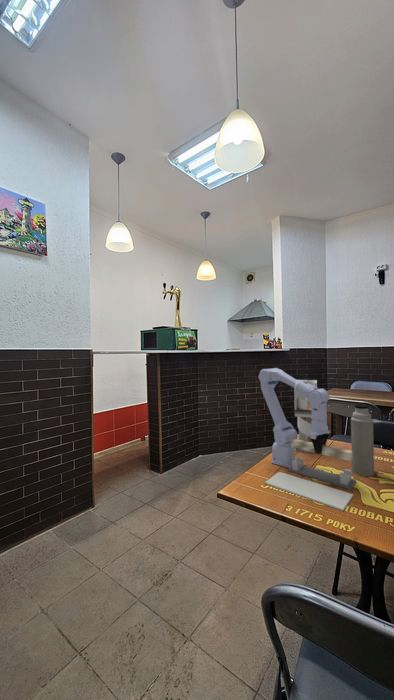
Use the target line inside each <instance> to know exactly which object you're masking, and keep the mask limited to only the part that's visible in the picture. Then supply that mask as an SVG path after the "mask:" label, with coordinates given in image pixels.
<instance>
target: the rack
mask: <svg viewBox="0 0 394 700" xmlns="http://www.w3.org/2000/svg"><path fill="white" fill-rule="evenodd" d="M295 457H296V458H295V460H292V467H291V468H288V469H287V472H289V473H293V474H297V475H298V476H303V477H306V478H309V479H313V480H316V481H319V482H323V483H327V484H329V485H333V486H335V487H339V488H342V489H346V490H351V489H352V488H353V486H355V484H356V483H357V480H356V479H355V478H352V469H348V468H343V472H340V473H339V474H337V473H336V474H335V473H333V472H329V471H325V470H321V469H318V468H314V467H310V466H306V465H304V458H303V457H300V456H295Z"/></svg>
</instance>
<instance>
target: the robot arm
mask: <svg viewBox="0 0 394 700" xmlns="http://www.w3.org/2000/svg"><path fill="white" fill-rule="evenodd" d="M257 377H258V379H259V382H260V389H261V392H262V395H263V398H264V400H265V402H266V404H267V405H266V406H267V407H268V410H269V412H270V415H271V417H272V420H273V423H274V426H273V428H272V432H273V435H274V437H273V438H274V442H273V444H272V445H271V446H272V448H271V452H272V453H271V455H272V456H271V457H272V458H271V460H272V461H271V464H274V465H278V466H281V467H285V468H288V469H289V468H291V467H292V460H295V461H296V458H295V457H296V456H295V454H296V453H295V452H296V448H292V447H291V440H293V439H298V438H299V434H298V431H297V430H296V429H295V428H294V426H293V425H292V423H290V422H289V421H288V420H287V418H286V416H285V414H284V411H283V409H282V408H283V407H281V404H280V401H279V399H278V396H277V394H276V392H275V389H274V388H275V387H276V385H277V384H278V383H279V382H282V383H284V384H286V385H288V386H291V388H293V389H294V388H295V391H296V392H297V393H299V394H301V395H303V396H304V397H306V398H308V399H309V401H310V403H311V412H312V429H311V433H310V439H311V441H312V443H313V446H314V450H315V453H317V454H316V455H322V454H321V453H322V446H323V445H327V442H328V439H329V437H330V433H331V430H329V426H328V412H327V411H328V408H327V405H328V404H327V403H328V402H329V399H330V395H329V392H328V391H327V390H326V389H325V388H318V386H317V387H316V386H313V385H311V384H309V383H307V382H308V381H306V380H307V379H300V380H301V381H298V380H299V379H296V378H294V377H293V376H291V375H290V374H288V373H286V372H285V371H284V370H282V369H280V368H278V367H274V368H262V369H261V370H260V371H259V374H258V376H257ZM303 380H304V381H303Z"/></svg>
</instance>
